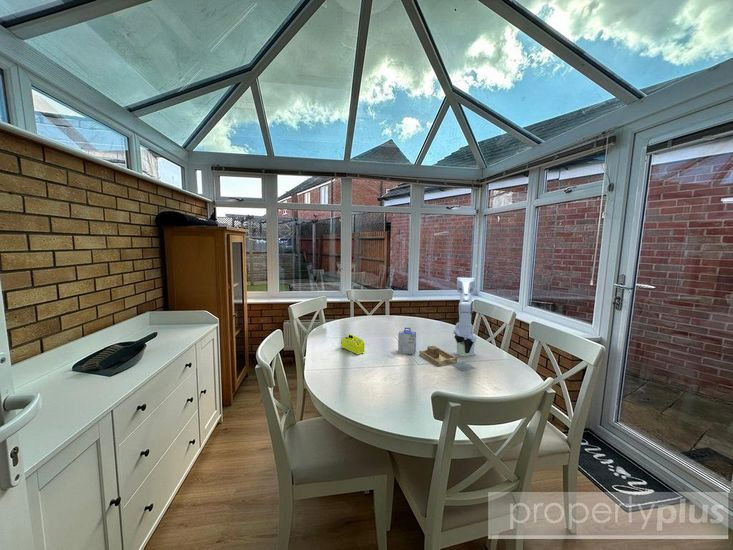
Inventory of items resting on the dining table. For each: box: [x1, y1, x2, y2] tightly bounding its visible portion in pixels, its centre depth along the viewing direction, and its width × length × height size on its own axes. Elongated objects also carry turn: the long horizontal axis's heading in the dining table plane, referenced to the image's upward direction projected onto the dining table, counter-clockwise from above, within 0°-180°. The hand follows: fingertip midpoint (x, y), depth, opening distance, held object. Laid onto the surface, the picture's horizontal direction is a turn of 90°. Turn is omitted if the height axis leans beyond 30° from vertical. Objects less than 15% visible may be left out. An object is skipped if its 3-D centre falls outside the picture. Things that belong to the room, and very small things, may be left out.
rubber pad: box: [449, 361, 477, 372], centre depth 154 cm, size 9×9×1 cm
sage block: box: [456, 342, 471, 357], centre depth 153 cm, size 4×4×6 cm
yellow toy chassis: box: [340, 333, 365, 355], centre depth 177 cm, size 16×6×8 cm, turn 40°
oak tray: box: [418, 348, 458, 367], centre depth 164 cm, size 13×17×3 cm
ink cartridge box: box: [397, 327, 417, 355], centre depth 173 cm, size 10×6×14 cm, turn 76°
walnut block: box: [426, 345, 440, 358], centre depth 167 cm, size 4×5×5 cm
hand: (463, 351), depth 153 cm, fingers closed on sage block, 4 cm apart
